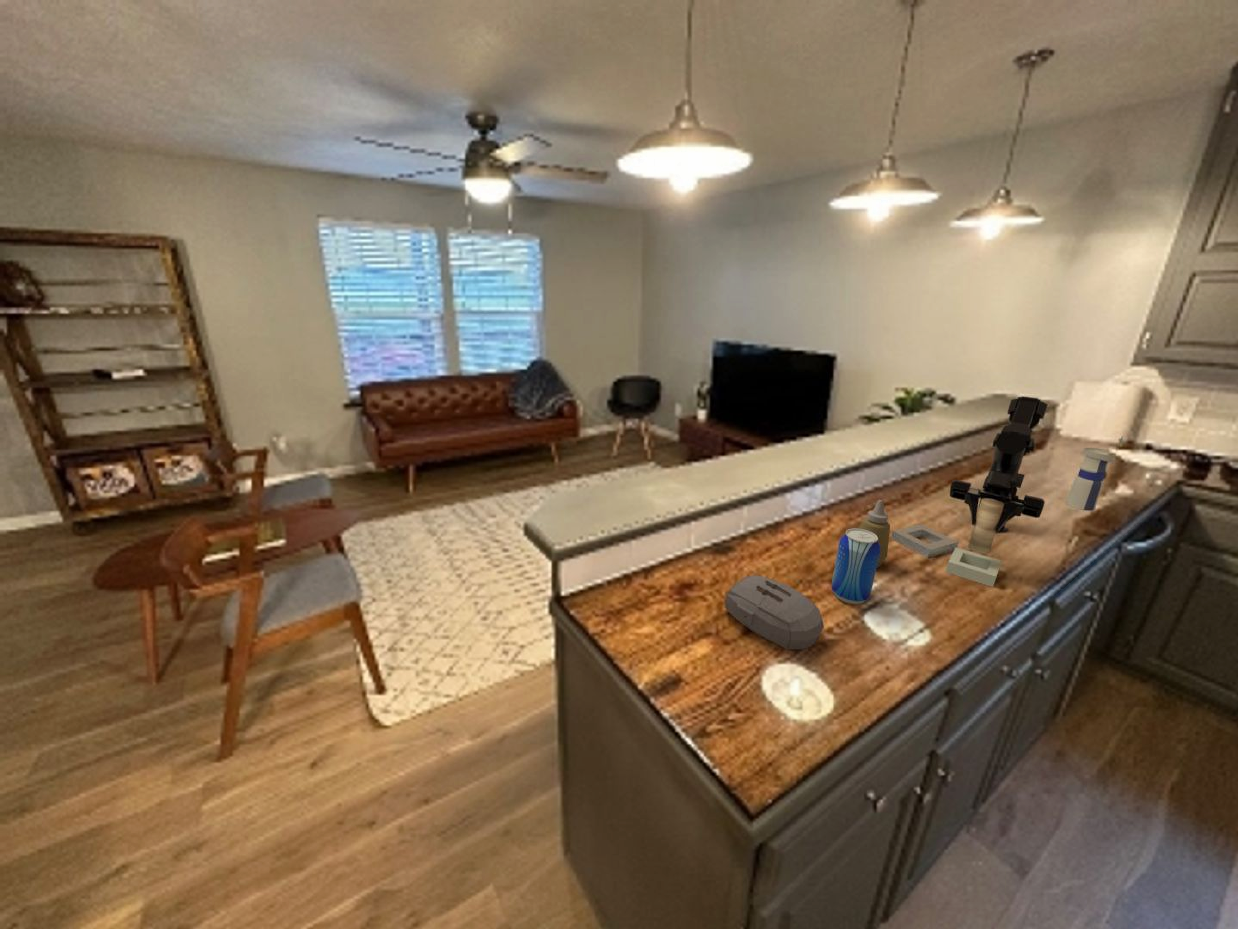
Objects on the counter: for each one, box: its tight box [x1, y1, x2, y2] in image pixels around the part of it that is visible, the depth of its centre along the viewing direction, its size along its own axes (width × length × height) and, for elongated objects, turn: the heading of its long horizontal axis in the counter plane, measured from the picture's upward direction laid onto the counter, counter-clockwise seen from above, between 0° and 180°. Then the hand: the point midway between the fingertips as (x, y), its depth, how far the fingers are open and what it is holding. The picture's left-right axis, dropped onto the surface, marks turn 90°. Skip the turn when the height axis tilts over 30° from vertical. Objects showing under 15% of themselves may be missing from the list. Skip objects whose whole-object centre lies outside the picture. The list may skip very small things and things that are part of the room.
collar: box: [945, 547, 1002, 588], centre depth 126 cm, size 10×10×3 cm
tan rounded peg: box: [967, 499, 1004, 555], centre depth 122 cm, size 4×4×13 cm
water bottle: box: [1064, 436, 1125, 512], centre depth 162 cm, size 8×9×25 cm
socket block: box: [890, 524, 959, 559], centre depth 140 cm, size 12×12×2 cm
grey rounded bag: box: [724, 574, 825, 651], centre depth 105 cm, size 15×8×20 cm
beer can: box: [830, 527, 881, 605], centre depth 114 cm, size 8×8×16 cm
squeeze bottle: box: [859, 499, 891, 569], centre depth 127 cm, size 8×8×18 cm
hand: (984, 527), depth 121 cm, fingers closed on tan rounded peg, 4 cm apart
